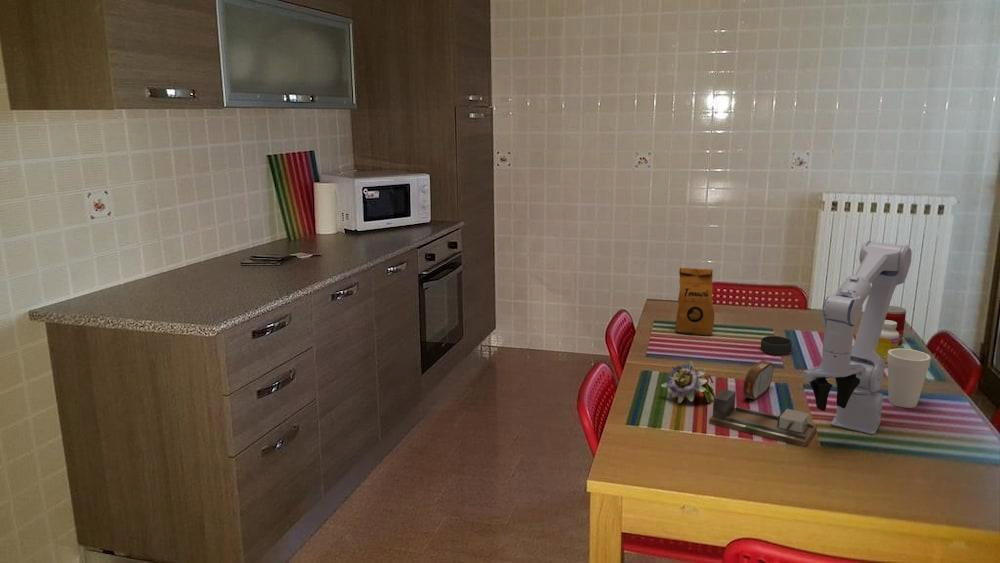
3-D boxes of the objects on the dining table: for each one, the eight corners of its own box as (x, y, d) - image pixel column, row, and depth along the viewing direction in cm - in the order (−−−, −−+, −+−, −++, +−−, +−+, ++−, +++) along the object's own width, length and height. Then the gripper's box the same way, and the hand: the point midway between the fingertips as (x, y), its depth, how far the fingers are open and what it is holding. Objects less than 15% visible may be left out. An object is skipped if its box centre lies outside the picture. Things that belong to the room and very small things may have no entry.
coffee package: (712, 338, 240) (716, 272, 235) (673, 334, 244) (676, 270, 239) (714, 329, 249) (718, 266, 244) (677, 326, 253) (680, 264, 248)
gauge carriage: (808, 426, 170) (809, 413, 170) (798, 439, 164) (800, 426, 163) (783, 420, 174) (784, 408, 173) (773, 433, 167) (774, 420, 166)
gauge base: (816, 431, 172) (818, 407, 170) (805, 447, 164) (807, 422, 162) (723, 409, 184) (724, 387, 183) (709, 423, 176) (710, 400, 175)
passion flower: (679, 422, 190) (653, 385, 189) (690, 400, 198) (664, 364, 198) (716, 407, 183) (689, 369, 182) (725, 385, 192) (699, 348, 191)
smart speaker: (795, 356, 223) (796, 344, 222) (765, 356, 223) (766, 344, 222) (784, 347, 231) (785, 335, 230) (756, 347, 232) (757, 335, 231)
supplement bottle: (889, 369, 211) (895, 326, 208) (866, 363, 216) (871, 321, 213) (899, 364, 215) (904, 322, 212) (875, 358, 220) (880, 317, 217)
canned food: (903, 340, 237) (907, 307, 234) (900, 347, 230) (905, 313, 228) (876, 336, 241) (880, 304, 238) (873, 343, 234) (877, 309, 232)
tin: (762, 384, 200) (764, 355, 198) (773, 387, 198) (776, 357, 196) (740, 401, 189) (743, 370, 187) (752, 404, 187) (755, 373, 185)
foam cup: (889, 392, 194) (895, 346, 191) (928, 402, 187) (935, 354, 184) (876, 403, 187) (882, 354, 184) (916, 413, 181) (923, 363, 178)
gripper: (852, 341, 166) (846, 397, 169) (796, 347, 163) (791, 404, 166) (875, 351, 159) (868, 409, 163) (817, 357, 156) (811, 416, 159)
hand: (830, 407), depth 164 cm, fingers open, 5 cm apart
